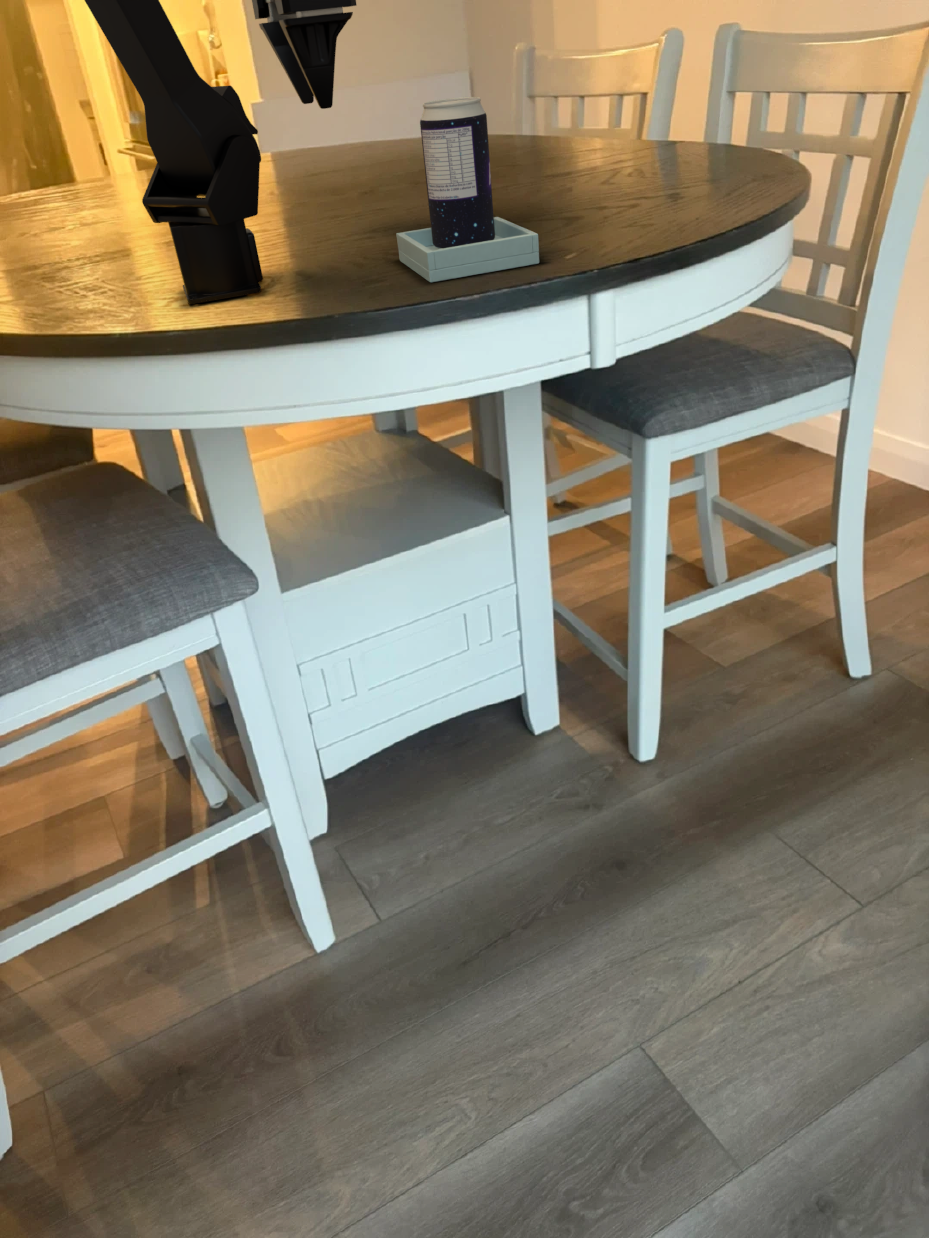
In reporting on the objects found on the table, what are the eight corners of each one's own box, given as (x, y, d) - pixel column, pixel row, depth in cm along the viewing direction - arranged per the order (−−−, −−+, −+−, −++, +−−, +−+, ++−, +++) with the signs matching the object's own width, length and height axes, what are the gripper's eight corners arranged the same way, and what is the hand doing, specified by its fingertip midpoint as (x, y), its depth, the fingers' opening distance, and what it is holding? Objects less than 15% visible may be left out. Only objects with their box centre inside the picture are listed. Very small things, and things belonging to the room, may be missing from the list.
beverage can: (506, 250, 82) (497, 97, 75) (450, 261, 80) (435, 106, 73) (478, 241, 86) (466, 95, 79) (423, 252, 84) (407, 104, 78)
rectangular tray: (430, 283, 78) (426, 252, 77) (399, 261, 87) (396, 233, 85) (539, 263, 81) (538, 233, 79) (499, 244, 89) (497, 216, 87)
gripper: (402, -127, 72) (425, 99, 80) (351, -97, 87) (375, 91, 95) (262, -117, 69) (301, 116, 78) (234, -87, 84) (270, 105, 93)
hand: (316, 106), depth 86 cm, fingers open, 9 cm apart
